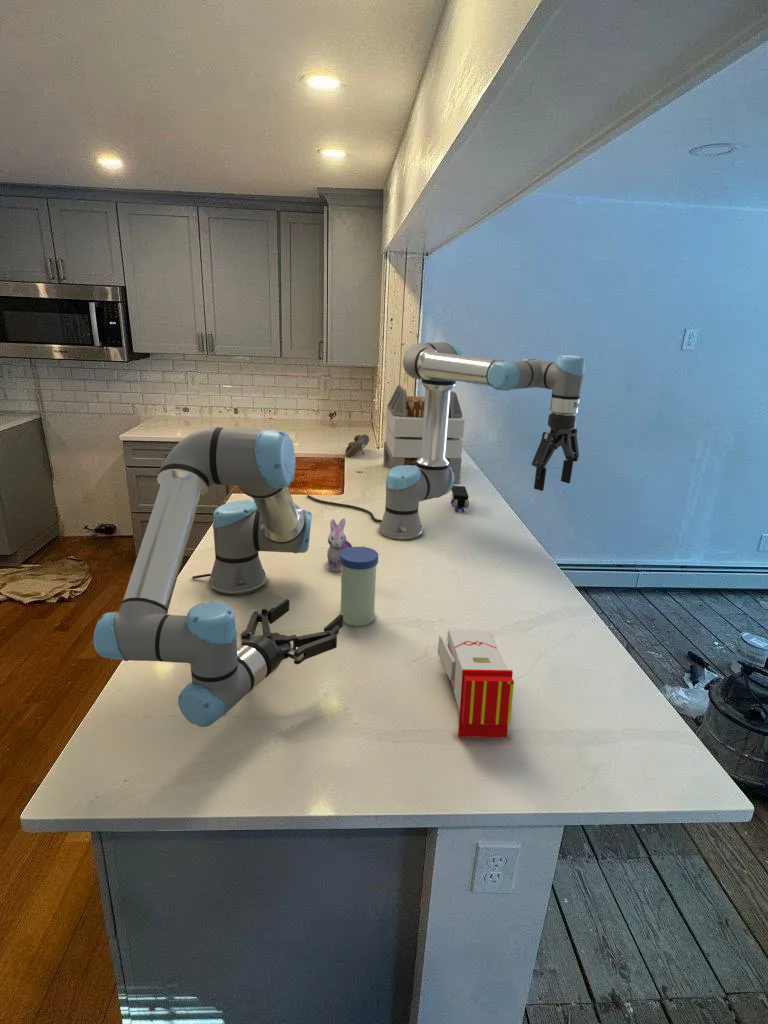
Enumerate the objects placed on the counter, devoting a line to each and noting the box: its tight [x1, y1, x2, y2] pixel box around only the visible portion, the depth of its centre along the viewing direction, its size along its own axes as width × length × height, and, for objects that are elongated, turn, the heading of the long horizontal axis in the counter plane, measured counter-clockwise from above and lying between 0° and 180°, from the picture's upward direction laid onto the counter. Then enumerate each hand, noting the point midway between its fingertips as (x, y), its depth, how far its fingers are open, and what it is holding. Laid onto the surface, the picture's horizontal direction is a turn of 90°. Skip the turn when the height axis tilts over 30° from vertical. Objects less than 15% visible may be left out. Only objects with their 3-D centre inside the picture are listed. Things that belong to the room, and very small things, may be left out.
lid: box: [340, 546, 379, 570], centre depth 140 cm, size 9×9×2 cm
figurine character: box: [450, 485, 470, 513], centre depth 227 cm, size 7×8×15 cm
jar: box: [340, 565, 377, 627], centre depth 142 cm, size 9×9×17 cm
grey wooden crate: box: [383, 384, 465, 484], centre depth 268 cm, size 34×33×41 cm
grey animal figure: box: [344, 433, 370, 458], centre depth 304 cm, size 22×10×15 cm
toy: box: [437, 628, 515, 738], centre depth 117 cm, size 12×13×30 cm
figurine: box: [326, 517, 353, 572], centre depth 171 cm, size 9×10×15 cm
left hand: (314, 612), depth 123 cm, fingers open, 13 cm apart
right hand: (552, 485), depth 166 cm, fingers open, 13 cm apart
